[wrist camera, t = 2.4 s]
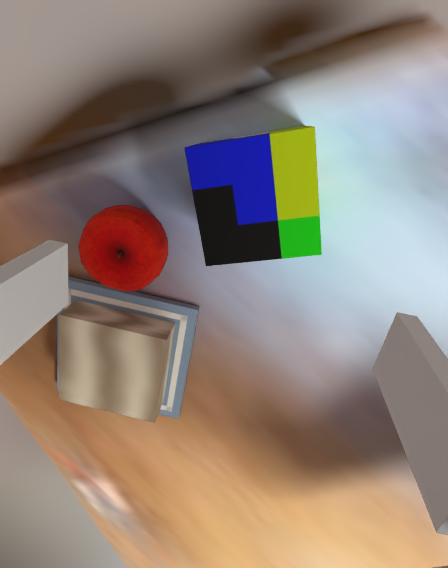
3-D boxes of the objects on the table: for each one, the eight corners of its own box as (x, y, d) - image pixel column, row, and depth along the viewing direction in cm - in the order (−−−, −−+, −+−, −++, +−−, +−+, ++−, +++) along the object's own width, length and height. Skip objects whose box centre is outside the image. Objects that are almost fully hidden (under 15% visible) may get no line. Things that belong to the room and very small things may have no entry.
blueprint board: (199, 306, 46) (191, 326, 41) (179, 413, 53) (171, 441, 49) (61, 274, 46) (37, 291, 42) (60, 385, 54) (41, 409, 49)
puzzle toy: (206, 141, 38) (184, 147, 29) (305, 125, 36) (314, 126, 27) (221, 234, 42) (206, 266, 33) (311, 224, 40) (321, 254, 31)
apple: (126, 278, 46) (98, 308, 38) (91, 212, 43) (54, 230, 36) (191, 256, 43) (174, 282, 36) (158, 184, 40) (133, 197, 33)
